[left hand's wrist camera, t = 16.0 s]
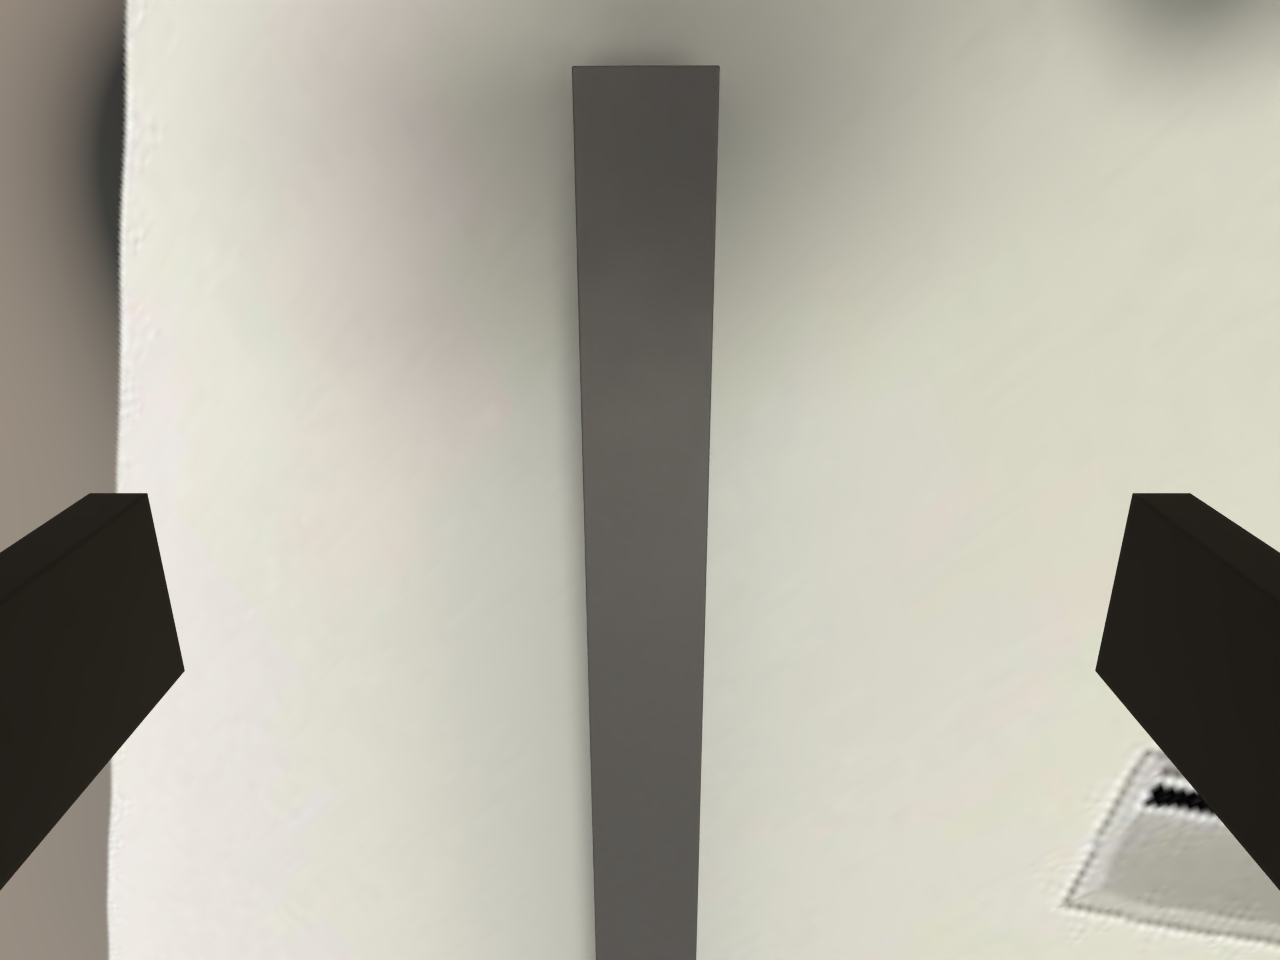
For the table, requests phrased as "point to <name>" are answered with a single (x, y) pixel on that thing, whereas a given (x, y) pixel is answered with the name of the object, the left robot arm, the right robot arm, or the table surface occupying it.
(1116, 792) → the table surface
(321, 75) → the table surface
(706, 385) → the bar
